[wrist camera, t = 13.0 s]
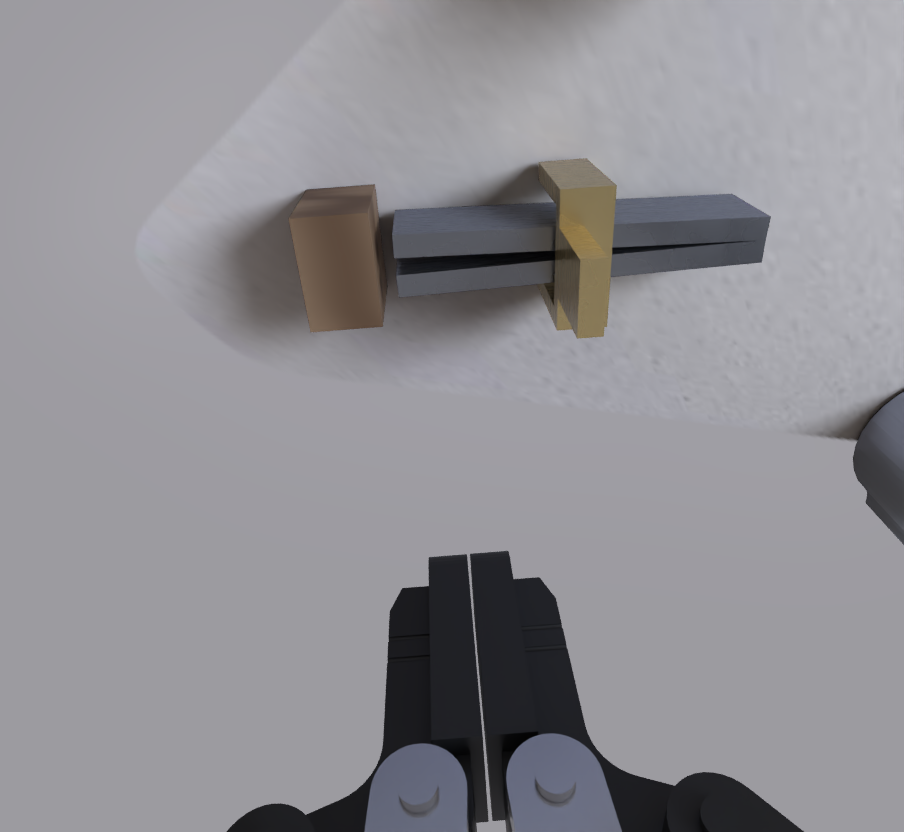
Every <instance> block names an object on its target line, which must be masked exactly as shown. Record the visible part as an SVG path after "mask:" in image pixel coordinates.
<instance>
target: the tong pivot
mask: <svg viewBox="0 0 904 832" xmlns="http://www.w3.org/2000/svg"><path fill="white" fill-rule="evenodd" d="M289 224H290V229H291V234H292V240H293V245H294V250H295V255H296V260H297V265H298V270H299V275H300V280H301V285H302V290H303V296H304V301H305V306H306V311H307V316H308V321H309V326H310V331H311V332H320V331H333V330H346V329H360V328H373V327H383V320H384V311H385V302H386V294H387V279H386V271H385V263H384V255H383V247H382V238H381V230H380V222H379V214H378V206H377V198H376V190H375V184H374V185H361V186H348V187H335V188H322V189H309V190H306V191H305V193H304V195H303V196H302V198H301V199H300V201H299V203H298V204H297V206H296V207H295V209H294V211H293V212H292V214H291V215H290V217H289Z"/></svg>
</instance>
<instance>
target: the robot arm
mask: <svg viewBox="0 0 904 832" xmlns="http://www.w3.org/2000/svg"><path fill="white" fill-rule="evenodd" d="M853 463H854V471H855V474H856V476H857V479H858V481H859V482H860V483H861V484H862V485H863V486H864V488H865V489H866V490H867V499H866V504H867V505H868V506H869V507H870V508H871V509H872V510H873V511H874V512H875V514H876V515H877V516H878V517H879V518H880V519H881V520H882V521H883V522H884V524H885V525H886V526H887V527H888V528H889V529H890V530H891V531H892V532H893V534H895V536H896V537H897V538H898V539H899V540H900V541H901V542H902V543H903V545H904V392H903V393H901V394H899V395H898V396H896V397H895V398H894V399H892V400H891V401H890V402H888V403H887V404H886V405H884V406H883V407H882V408H881V409H880V410H879V411H878V412H877V413H876V414H875V415H874V416H873V418H872V419H871V420H870V421H869V423H868V424H867V425H866V427H865V428H864V430H863V431H862V433H861V435H860V437H859V439H858V442H857V444H856V447H855V451H854V456H853ZM470 560H471V574H472V587H473V588H472V589H473V603H474V617H475V629H476V640H477V653H478V663H479V675H480V686H481V697H482V708H483V719H484V731H485V742H486V753H487V764H488V775H489V786H490V797H491V809H492V820H493V821H498V820H505V821H506V831H507V832H804V831H802V830H801V829H800V828H798V827H797V826H796V825H794V824H793V823H792V822H791V821H790V820H788V819H787V818H786V817H785V816H783V815H782V814H781V813H779V812H778V811H777V810H776V809H774V808H773V807H772V806H771V805H769V804H768V803H766V802H765V801H764V800H763V799H762V798H760V797H759V796H758V795H756V794H755V793H754V792H753V791H751V790H750V789H749V788H748V787H746V786H745V785H743V784H742V783H740V782H738V781H736V780H735V779H733V778H730V777H727V776H725V775H721V774H717V773H709V772H708V773H707V772H702V773H695V774H693V775H690V776H687V777H686V778H684V779H682V780H681V781H680V782H679V783H678V784H676V786H673V785H669V784H666V783H662V782H658V781H654V780H650V779H646V778H642V777H639V776H635V775H632V774H629V773H627V772H625V771H623V770H621V769H619V768H617V767H616V766H614V765H613V764H611V763H610V762H609V761H608V760H607V759H605V758H604V757H603V756H602V755H601V754H600V752H599V751H598V750H597V749H596V748H595V746H594V745H593V743H592V742H591V740H590V737H589V735H588V733H587V730H586V727H585V723H584V719H583V715H582V710H581V706H580V701H579V698H578V693H577V689H576V684H575V680H574V676H573V671H572V667H571V663H570V658H569V654H568V650H567V647H566V641H565V636H564V632H563V629H562V625H561V619H560V615H559V611H558V607H557V602H556V598H555V597H554V595H553V594H552V593H551V592H550V590H549V589H548V588H547V587H546V585H545V584H544V583H543V582H542V580H541V579H540V578H525V579H513V574H512V569H511V563H510V556H509V552H508V551H501V552H488V553H475V554H470ZM477 822H488V809H487V795H486V780H485V766H484V751H483V737H482V725H481V713H480V702H479V690H478V679H477V667H476V656H475V644H474V632H473V620H472V609H471V598H470V585H469V575H468V562H467V555H466V554H465V555H452V556H441V557H440V556H439V557H429V586H426V587H412V588H402V590H401V592H400V594H399V595H398V597H397V600H396V601H395V603H394V605H393V607H392V608H391V610H390V621H389V642H388V663H387V679H386V699H385V719H384V739H383V749H382V753H381V756H380V760H379V761H378V764H377V766H376V768H375V769H374V771H373V773H372V774H371V776H370V777H369V778H368V779H367V780H366V782H365V783H364V784H363V785H362V786H361V787H359V788H358V789H357V790H356V791H355V792H353V793H352V794H350V795H349V796H347V797H345V798H343V799H341V800H339V801H337V802H334V803H332V804H330V805H327V806H325V807H323V808H321V809H318V810H316V811H314V812H311V813H309V814H307V815H305V814H304V813H303V812H302V811H300V810H299V809H297V808H295V807H293V806H290V805H286V804H269V805H264V806H262V807H259V808H256V809H254V810H252V811H250V812H248V813H247V814H245V815H244V816H243V817H241V818H240V819H239V820H237V821H236V822H235V824H233V825H232V826H231V827H230V828H229V830H228V831H227V832H477V827H476V823H477Z"/></svg>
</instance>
